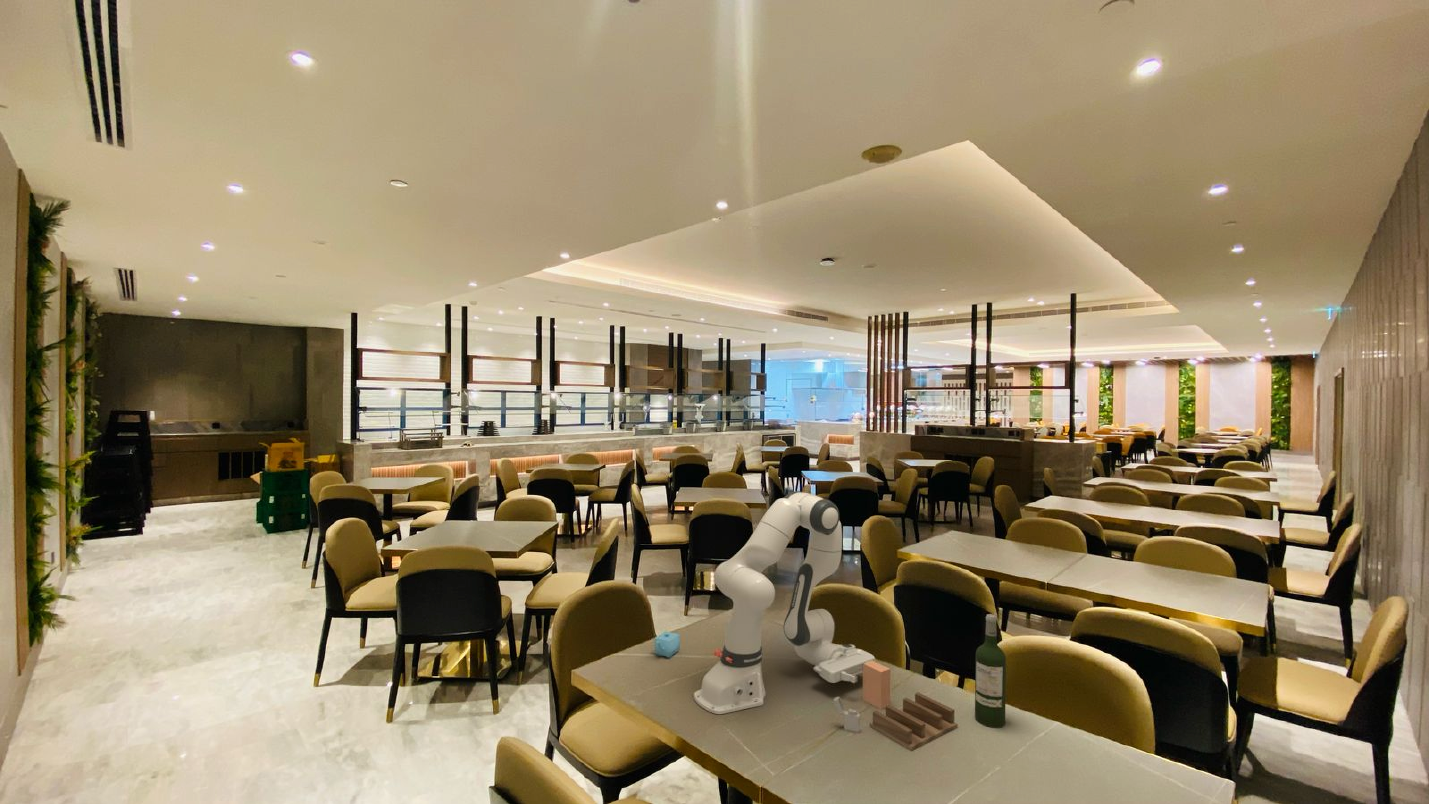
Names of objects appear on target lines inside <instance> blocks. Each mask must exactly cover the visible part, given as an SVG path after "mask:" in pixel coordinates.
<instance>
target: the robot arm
mask: <svg viewBox="0 0 1429 804" xmlns="http://www.w3.org/2000/svg"><path fill="white" fill-rule="evenodd" d="M799 526H801V527H803V529H804V528H805V529H807V530H809V533H810V534H809V538H808V539H809V540H808V547H807V553H806V556H805V558H804V561H803V563H802V565H801V566H800V567H799V569H798V571H797V574H796V578H795V582H794V587H793V591H792V595H791V599H790V604H789V609H788V611H787V614H786V616H785V618H784V622H783V633H784V636H785V637H786V639H787V640H788V641H789V642H790V643H791V644H793V648H794V649H793V650H794V651H795V653H796V654H797V656H798V657H800V658H801V659H802V660H804V661H806V662H807V663H809V664H811V665H813V666H814V667H813V668H812V669H813V671H815V672H816V673H818V675H819V676H820V677H821V678H822V679H823V680H825V681H826V682H828V683H832V684H835V683H839V682H840V681H844V682H851V683H853V684H855V683H857V682H858V681H859V680H858V678H859V677H858V676H857V675H859V674H863V663H866V662H869V661H871V660H872V661H874V662H876V658H875V656H874V654H871V653H869V652H868V651H865V650H863V649H861V648H856V645H854V644H837V643H836V644H835V643H833V641H834V638H835V630H836V621H835V619H834V616H833V615H832V614H831V613H830V612H829V610H827V609H826V608H817V609H811V610H809V606H810V601H811V599H812V597H811V596H812V593H813V590H814V588H815V587H816V586H817V585H818V584H819V583H820V582H821V581H823V580H825V578H828V577H829V576H831V575H833V574H834V573H835V572H836V571H837V570H838V568H839V566H840V563H841V558H842V549H843V530H842V523H841V521H840V511H839V508H838V507H837V505H836V504H835V503H834V502H832V501H831V500H829V499H825V498H822V497H821V496H817V494H814V493H809V492H803V491H800V490H795V491H791V492H789V493H787V494H786V495H785V496H784V497H782V498H778V499H776V500H775V501H774V502H773V503H772V505H771V506H770V507H769V508H768V509H767V511H766V512H765V513H764V515H763V516H762V518H761V519H760V521H759V522H758V524H757V526H756V528H755V529H754V531H753V533H752V534H751V536H750V537H749V539H748V540H747V541H746V543H745V544H744V546H743V547H742V548H741V549H740V550H739V551H738V552H736V554H734V555H733V556H732V557H731V558H729V559H727V560H726V561H723V562H721V563H720V564H719V565H718V566H717V567H716V569H715V571H714V576H713V580H714V583H715V586H716V587H717V589H718V590H719V591H720V592H721V593H722V594H723V595H724V596H725V597H727V598H729V599H731V600H732V602H733V607H732V612H731V615H730V616H729V617H727V619H726V620H725V623H724V640H725V641H724V646H723V647H722V650H720V649H718V648H715V649H714V651H713V655H714V656H715V657H717V658H719V660H718V661H717V662H716V663H715V665H713V667H712V668H711V669H710V670H709V671H707V672H706V674H705V675H704V676H703V679H702V682H701V689H699V690H696V691H695V692H694V693H693V699H694V701H695V703H696V704H698V706H700V707H701V708H703V709H704V710H706V712H707V711H708V712H710V713H713V714H716V715H723V714H728V713H733V712H737V711H741V710H746V709H750V708H755V707H760V706H764V698H765V697H766V694H767V692H766V689H765V685H764V679H763V673H762V660H763V648H762V642H761V641H762V640H761V639H762V622H763V617H764V615H765V612H766V610H768V608H770V607H771V605H772V604H773V602H774V601H775V597H776V590H775V586H774V584H773V583H772V582H771V581H770V580H769V579H768V577H767V576H766V575H764V574H763V571H764V570H766V569H767V568H768V567H770V566H771V565H774V564H776V563H777V562H778V561H779V560H780V559H781V557H782V555H783V553H784V552H785V549H786V548H787V546H788V544H789V542H790V541H791V540H792V537H793V536H794V533H795V531H796V529H797V528H798V527H799Z"/></svg>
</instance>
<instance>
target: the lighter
mask: <svg viewBox="0 0 1429 804" xmlns="http://www.w3.org/2000/svg"><path fill="white" fill-rule="evenodd" d="M833 702H834V704H835V707H836V710H837V712H838V715H843V723H844V724H843V729H844V730H845V731H850V732H854V733H860V731H861V714H860V713H858V711H856V710H855V709H851V708H849V709H848V710H845V707H844V704H843V703H842V700H841V698H840V696H836V697H834V698H833Z"/></svg>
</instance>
